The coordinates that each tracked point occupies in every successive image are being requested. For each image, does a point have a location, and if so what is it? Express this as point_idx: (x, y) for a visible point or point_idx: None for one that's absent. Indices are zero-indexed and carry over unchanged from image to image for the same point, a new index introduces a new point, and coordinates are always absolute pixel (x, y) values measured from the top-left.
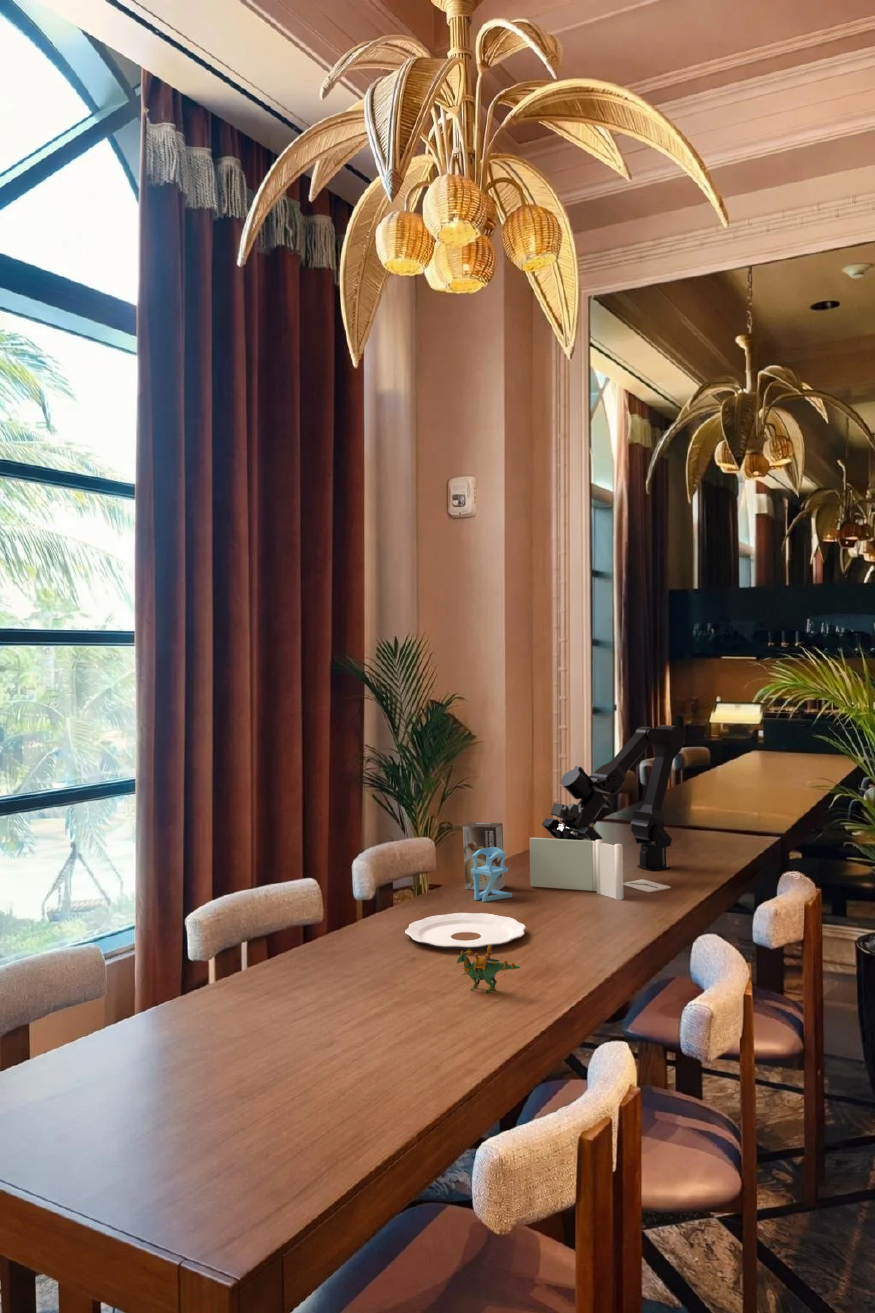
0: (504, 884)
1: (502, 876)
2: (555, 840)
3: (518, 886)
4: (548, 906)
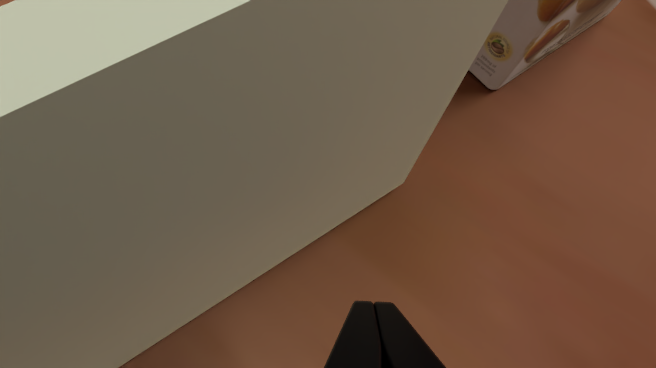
0: (492, 83)
1: None
2: (26, 11)
3: (448, 138)
4: None
